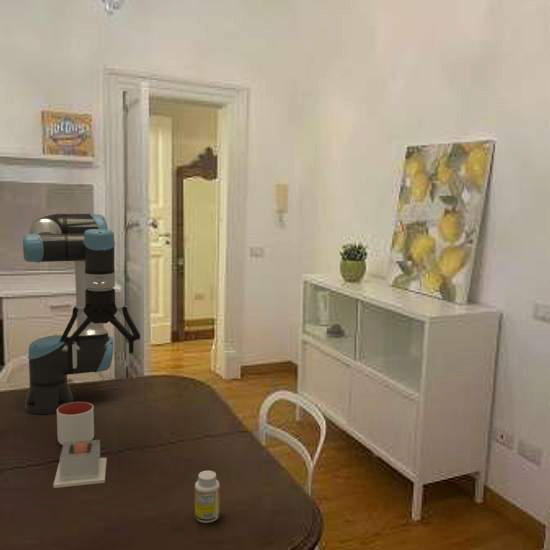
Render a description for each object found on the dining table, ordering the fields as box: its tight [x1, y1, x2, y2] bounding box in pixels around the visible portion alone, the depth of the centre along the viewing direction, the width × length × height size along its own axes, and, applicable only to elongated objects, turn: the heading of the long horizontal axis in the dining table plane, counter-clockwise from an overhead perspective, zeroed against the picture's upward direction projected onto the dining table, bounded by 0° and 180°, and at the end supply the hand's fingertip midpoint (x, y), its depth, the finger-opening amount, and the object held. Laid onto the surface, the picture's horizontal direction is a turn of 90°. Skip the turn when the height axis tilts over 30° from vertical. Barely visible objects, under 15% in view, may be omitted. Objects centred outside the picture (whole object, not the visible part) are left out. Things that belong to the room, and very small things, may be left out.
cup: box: [56, 401, 95, 446], centre depth 159 cm, size 10×10×10 cm
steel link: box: [59, 439, 101, 481], centre depth 141 cm, size 9×9×6 cm
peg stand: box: [53, 441, 107, 489], centre depth 141 cm, size 12×12×8 cm
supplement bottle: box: [194, 470, 221, 524], centre depth 124 cm, size 6×6×10 cm
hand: (101, 365), depth 148 cm, fingers open, 13 cm apart
